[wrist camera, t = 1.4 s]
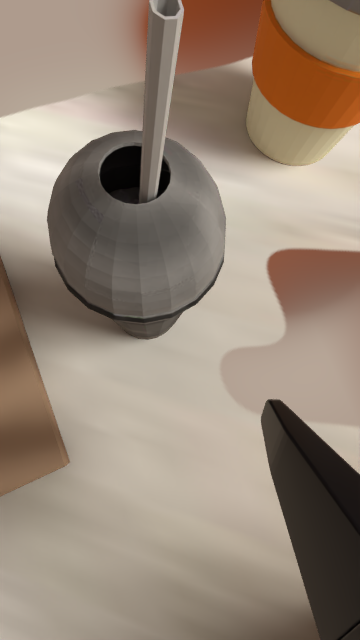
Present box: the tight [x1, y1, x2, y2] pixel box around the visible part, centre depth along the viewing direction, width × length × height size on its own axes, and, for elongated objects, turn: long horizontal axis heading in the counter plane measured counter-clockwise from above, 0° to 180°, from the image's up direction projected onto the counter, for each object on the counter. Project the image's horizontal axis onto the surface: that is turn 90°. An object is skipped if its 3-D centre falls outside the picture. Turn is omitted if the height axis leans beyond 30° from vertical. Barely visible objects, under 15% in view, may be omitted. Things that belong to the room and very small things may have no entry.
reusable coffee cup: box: [246, 0, 360, 166], centre depth 22 cm, size 13×13×15 cm
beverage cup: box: [47, 0, 226, 339], centre depth 14 cm, size 7×7×20 cm
